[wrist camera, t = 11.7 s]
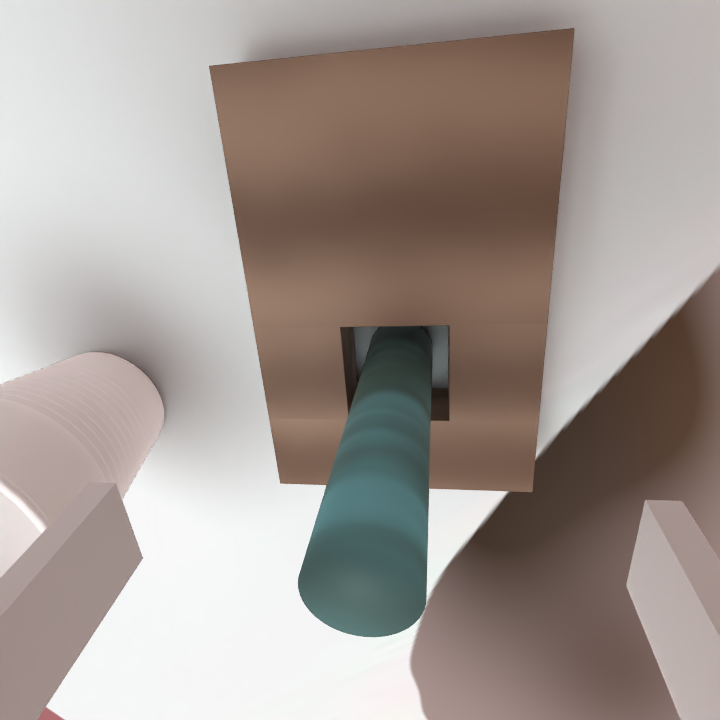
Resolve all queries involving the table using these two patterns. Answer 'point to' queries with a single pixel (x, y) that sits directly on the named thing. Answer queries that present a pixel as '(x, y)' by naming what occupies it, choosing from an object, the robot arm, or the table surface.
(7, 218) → the table surface
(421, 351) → the peg
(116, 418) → the cup
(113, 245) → the table surface
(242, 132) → the hole plate
